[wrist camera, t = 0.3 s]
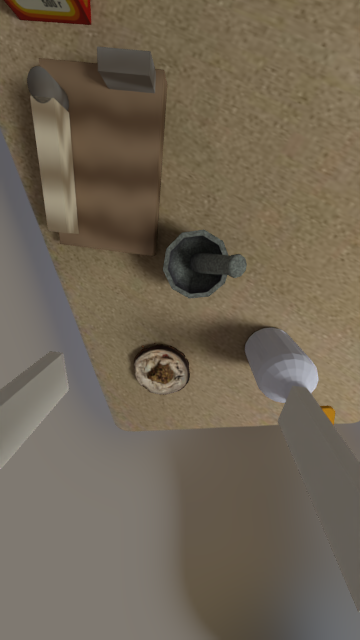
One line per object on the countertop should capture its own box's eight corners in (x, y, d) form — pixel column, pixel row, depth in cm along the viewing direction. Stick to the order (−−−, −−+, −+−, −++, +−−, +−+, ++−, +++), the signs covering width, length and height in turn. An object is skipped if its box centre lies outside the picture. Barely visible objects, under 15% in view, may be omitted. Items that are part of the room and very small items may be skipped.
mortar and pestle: (173, 289, 37) (161, 311, 26) (165, 236, 34) (149, 235, 23) (233, 283, 36) (249, 303, 25) (232, 227, 32) (249, 221, 21)
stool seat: (52, 73, 27) (18, 35, 22) (167, 84, 27) (159, 48, 21) (69, 243, 36) (47, 244, 31) (156, 254, 35) (148, 257, 30)
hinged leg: (43, 83, 26) (25, 65, 23) (67, 86, 25) (51, 67, 23) (60, 231, 32) (47, 230, 30) (79, 233, 32) (68, 233, 30)
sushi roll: (192, 335, 41) (191, 345, 37) (197, 391, 47) (197, 405, 43) (125, 338, 43) (117, 348, 39) (137, 392, 49) (131, 405, 45)
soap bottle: (290, 362, 41) (401, 515, 18) (245, 367, 42) (297, 514, 20) (291, 323, 38) (427, 451, 15) (242, 330, 39) (300, 455, 17)
